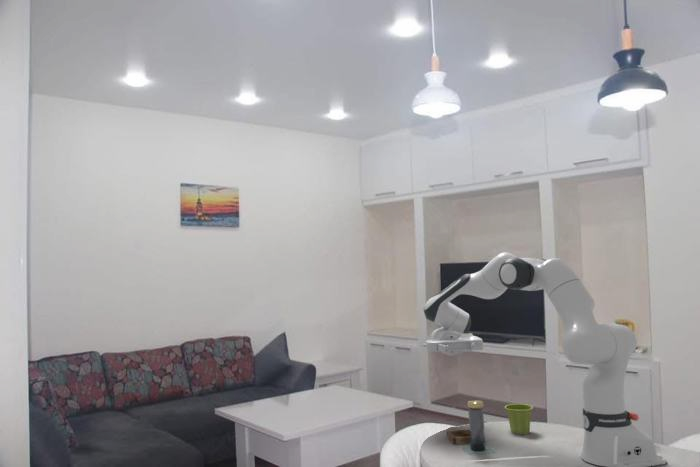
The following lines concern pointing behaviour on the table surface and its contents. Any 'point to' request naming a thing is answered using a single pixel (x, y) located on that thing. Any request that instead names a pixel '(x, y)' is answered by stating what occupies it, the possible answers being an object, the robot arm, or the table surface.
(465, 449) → the mat
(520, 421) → the plant pot
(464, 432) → the tray
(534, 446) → the table surface
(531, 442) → the table surface
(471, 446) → the pepper mill
